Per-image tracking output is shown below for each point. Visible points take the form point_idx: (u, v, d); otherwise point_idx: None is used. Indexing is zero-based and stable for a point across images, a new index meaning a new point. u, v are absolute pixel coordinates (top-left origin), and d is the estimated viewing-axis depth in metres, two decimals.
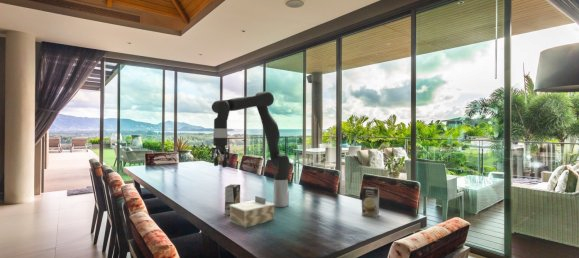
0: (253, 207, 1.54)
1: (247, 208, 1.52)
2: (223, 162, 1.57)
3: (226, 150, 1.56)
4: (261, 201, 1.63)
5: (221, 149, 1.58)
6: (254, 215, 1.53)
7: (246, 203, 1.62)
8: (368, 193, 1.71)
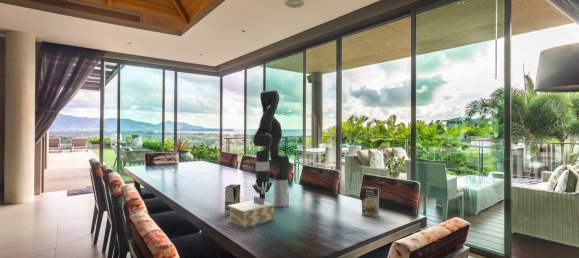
0: (252, 207, 1.54)
1: (245, 208, 1.52)
2: (264, 195, 1.65)
3: None
4: (260, 201, 1.62)
5: (267, 183, 1.67)
6: (254, 215, 1.53)
7: (245, 203, 1.62)
8: (368, 193, 1.71)
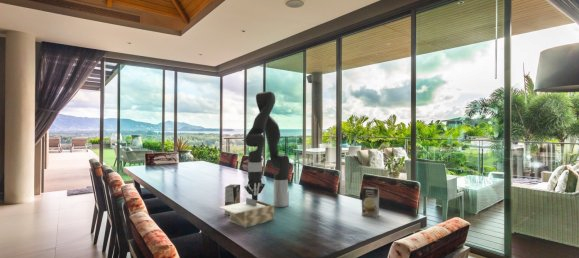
0: (243, 209, 1.50)
1: (237, 210, 1.48)
2: (256, 197, 1.62)
3: None
4: (252, 203, 1.59)
5: (260, 184, 1.63)
6: (254, 215, 1.53)
7: (236, 205, 1.58)
8: (368, 193, 1.71)
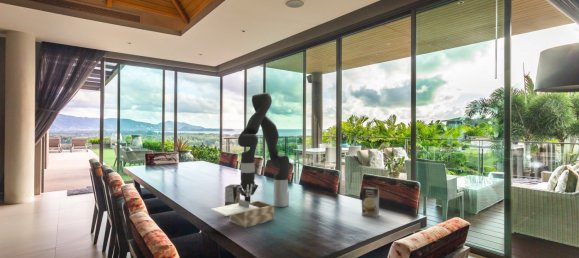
0: (235, 211, 1.47)
1: (229, 212, 1.45)
2: (249, 198, 1.58)
3: None
4: (244, 204, 1.55)
5: (253, 185, 1.60)
6: (254, 215, 1.53)
7: (229, 207, 1.55)
8: (368, 193, 1.71)
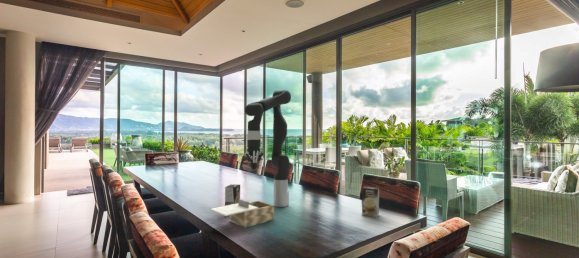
0: (235, 211, 1.47)
1: (228, 212, 1.45)
2: (255, 164, 1.67)
3: None
4: (244, 205, 1.55)
5: (259, 152, 1.69)
6: (254, 215, 1.53)
7: (228, 207, 1.55)
8: (368, 193, 1.71)
